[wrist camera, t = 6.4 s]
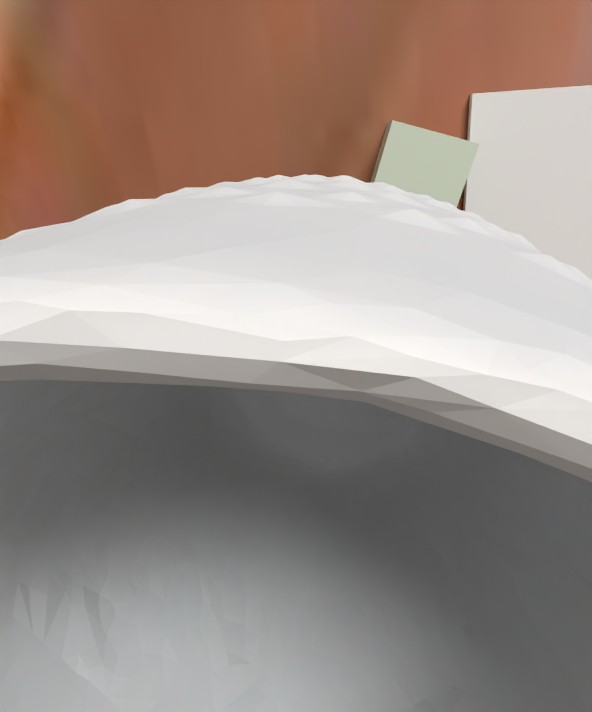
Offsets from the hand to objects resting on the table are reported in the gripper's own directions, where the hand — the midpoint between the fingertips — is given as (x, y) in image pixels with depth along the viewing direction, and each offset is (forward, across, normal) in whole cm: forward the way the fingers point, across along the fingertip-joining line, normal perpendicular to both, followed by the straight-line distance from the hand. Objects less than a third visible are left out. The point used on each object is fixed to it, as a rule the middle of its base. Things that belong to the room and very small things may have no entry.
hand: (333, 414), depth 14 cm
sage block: (+17, +3, +4) cm, 18 cm away
